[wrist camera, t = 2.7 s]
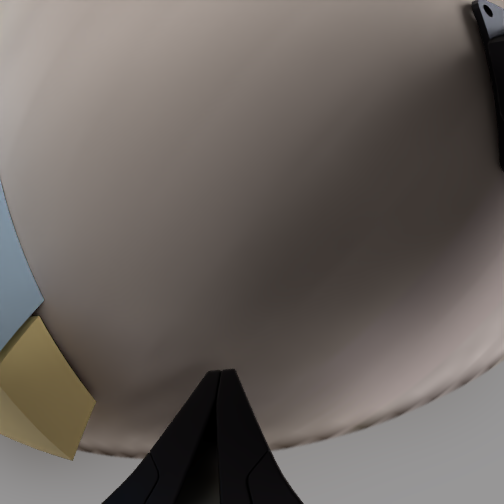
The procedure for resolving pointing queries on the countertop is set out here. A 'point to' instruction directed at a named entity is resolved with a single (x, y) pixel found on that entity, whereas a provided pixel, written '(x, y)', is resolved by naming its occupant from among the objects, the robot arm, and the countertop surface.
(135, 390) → the countertop surface
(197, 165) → the countertop surface
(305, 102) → the countertop surface
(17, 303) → the ticket
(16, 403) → the stub
